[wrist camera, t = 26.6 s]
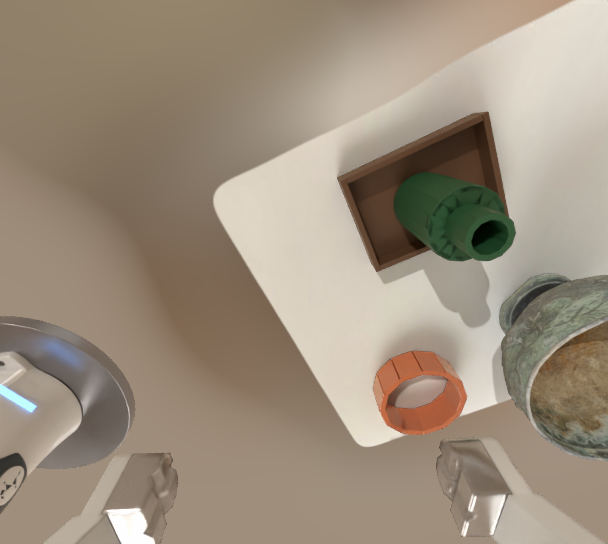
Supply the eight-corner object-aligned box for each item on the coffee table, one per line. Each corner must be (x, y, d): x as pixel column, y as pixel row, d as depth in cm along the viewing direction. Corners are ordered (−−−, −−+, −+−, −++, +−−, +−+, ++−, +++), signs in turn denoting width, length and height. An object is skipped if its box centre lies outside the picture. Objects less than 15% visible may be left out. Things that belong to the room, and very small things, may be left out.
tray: (371, 263, 39) (376, 272, 36) (336, 177, 34) (340, 181, 32) (494, 211, 36) (509, 217, 34) (473, 113, 32) (488, 111, 30)
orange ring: (367, 410, 48) (373, 432, 45) (382, 348, 44) (389, 368, 40) (440, 413, 49) (452, 436, 45) (462, 353, 45) (477, 373, 41)
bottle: (388, 227, 36) (436, 275, 24) (399, 169, 34) (459, 189, 21) (442, 231, 37) (517, 280, 24) (457, 174, 34) (549, 196, 22)
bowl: (444, 276, 40) (523, 351, 26) (605, 214, 37) (790, 262, 23) (474, 385, 47) (549, 489, 33) (611, 341, 44) (753, 434, 31)
